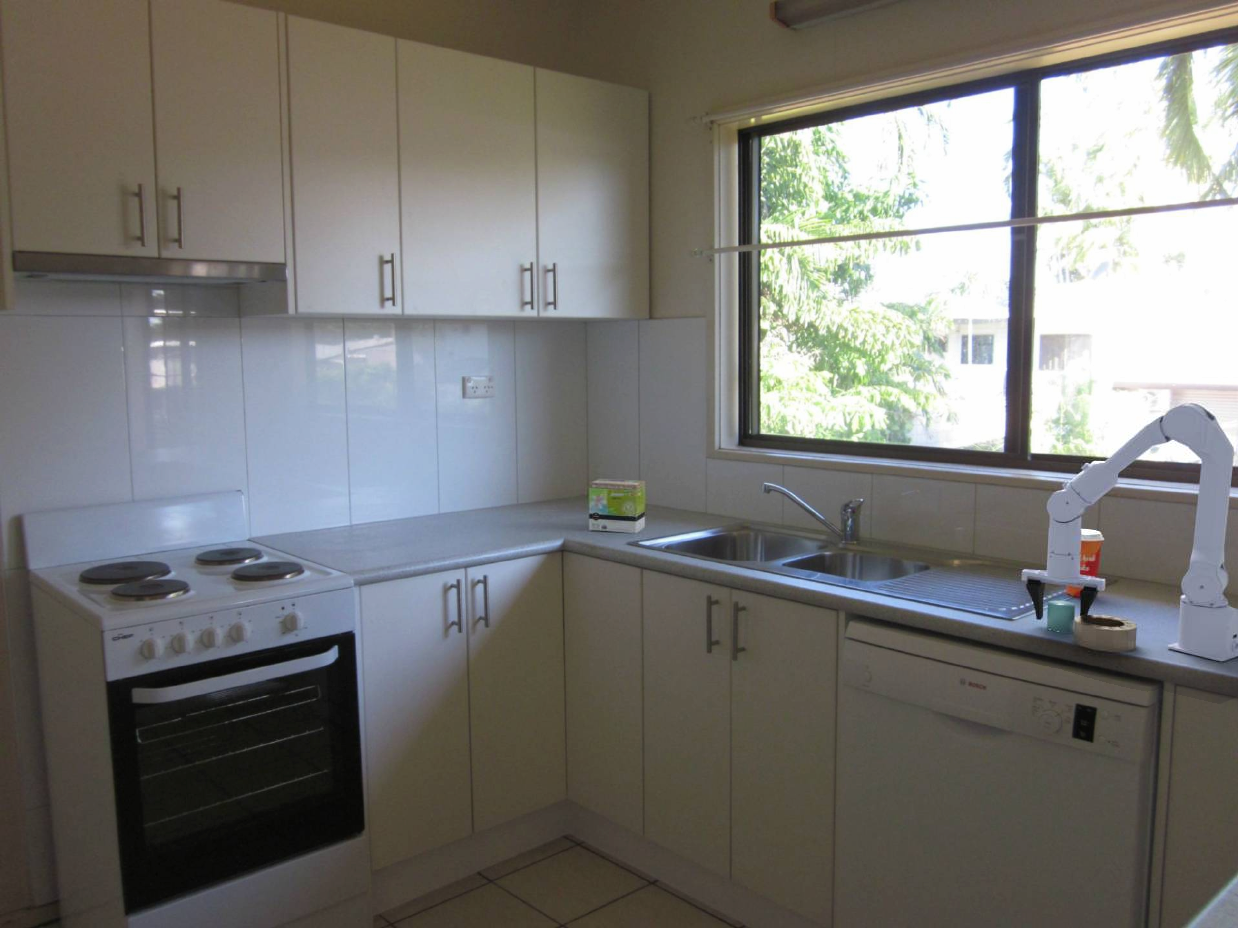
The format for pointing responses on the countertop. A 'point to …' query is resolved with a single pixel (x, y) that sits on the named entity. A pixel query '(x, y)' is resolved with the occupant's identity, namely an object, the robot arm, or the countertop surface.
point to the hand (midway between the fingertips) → (1060, 621)
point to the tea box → (617, 505)
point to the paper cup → (1088, 557)
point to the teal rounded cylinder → (1061, 616)
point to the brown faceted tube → (1105, 633)
